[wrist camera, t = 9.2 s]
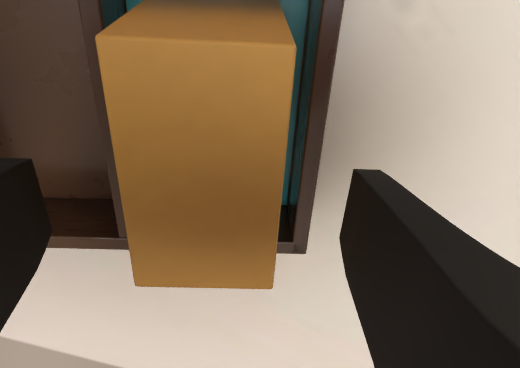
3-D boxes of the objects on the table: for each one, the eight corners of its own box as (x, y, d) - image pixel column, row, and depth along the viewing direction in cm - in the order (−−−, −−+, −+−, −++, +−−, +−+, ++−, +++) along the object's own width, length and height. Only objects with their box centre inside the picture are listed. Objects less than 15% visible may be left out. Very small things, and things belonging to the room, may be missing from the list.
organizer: (-14, 200, 18) (-57, 245, 15) (-126, -95, 12) (-225, -99, 10) (298, 209, 18) (306, 254, 16) (333, -66, 13) (354, -63, 10)
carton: (169, 177, 17) (134, 287, 12) (154, -9, 13) (92, 34, 8) (265, 180, 17) (272, 290, 12) (278, -2, 13) (297, 45, 8)
